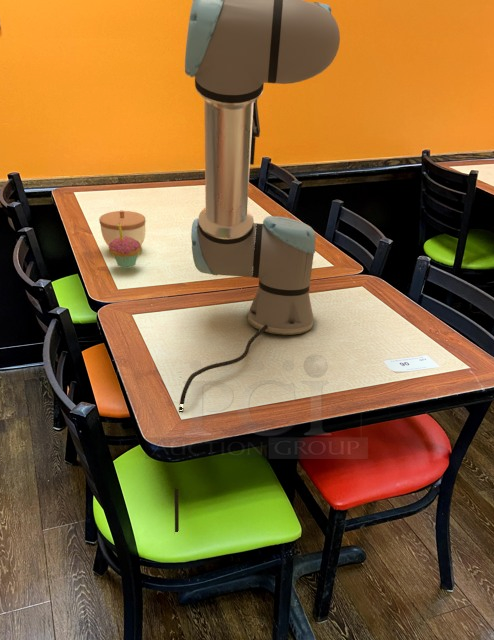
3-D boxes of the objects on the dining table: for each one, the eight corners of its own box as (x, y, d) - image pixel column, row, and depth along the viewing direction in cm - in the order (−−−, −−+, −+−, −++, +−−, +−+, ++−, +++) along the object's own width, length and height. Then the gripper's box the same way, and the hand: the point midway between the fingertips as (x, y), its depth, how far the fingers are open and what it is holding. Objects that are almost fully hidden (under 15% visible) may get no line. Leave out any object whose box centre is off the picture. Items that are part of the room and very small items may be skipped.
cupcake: (135, 272, 149) (131, 227, 142) (104, 268, 150) (99, 223, 143) (147, 260, 156) (143, 216, 148) (117, 256, 157) (113, 212, 150)
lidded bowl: (152, 243, 168) (149, 205, 162) (140, 259, 158) (137, 220, 152) (110, 240, 169) (106, 202, 162) (96, 255, 159) (91, 216, 152)
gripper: (250, 70, 145) (245, 160, 156) (202, 66, 125) (200, 169, 136) (277, 73, 143) (269, 163, 154) (232, 69, 123) (227, 173, 134)
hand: (237, 166), depth 145 cm, fingers open, 13 cm apart
